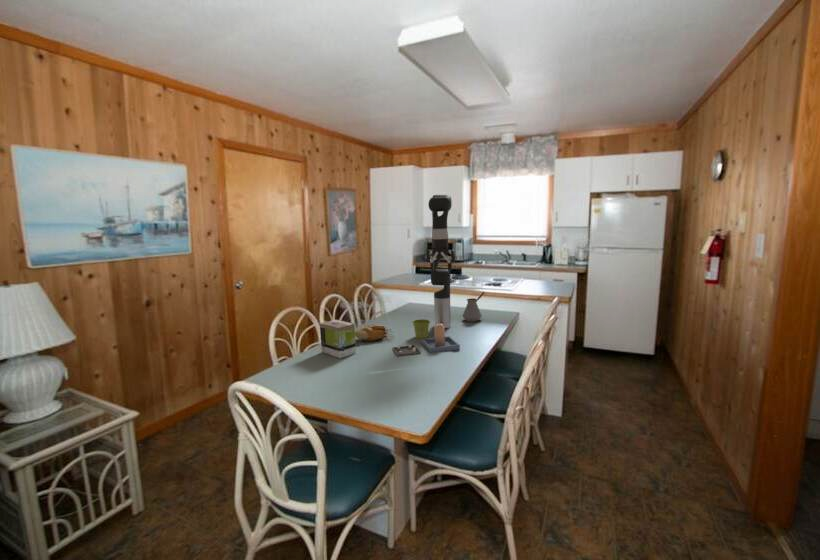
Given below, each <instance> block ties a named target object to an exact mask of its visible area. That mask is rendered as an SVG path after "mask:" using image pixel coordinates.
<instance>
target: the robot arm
mask: <svg viewBox="0 0 820 560" xmlns="http://www.w3.org/2000/svg"><path fill="white" fill-rule="evenodd" d="M452 203H453V202H452V196H451V195H450V194H433V195H432V197H430V198H429V200H428V208H429V211H431V217H432V226H431V227H432V230H431V233H432V234H431V249H427V250H426V262H427V263H430V265H429V266H430V270H431V271H430V282H431V285H432V286H443V288H442V289H440V290H437V291H434V293H433V303H434V306H433V307H434V325H436V324H439V323H440V324H443V325H444V327H445V329H448V328H451V325H452V324H451V321H452V319H451V318H452V317H451V315H452V314H451V270H452V267H453V265H452V263H454V262H455V261H456V251H455V249H449V233H448V217H449V212H450V210H451V209H452ZM439 212H442V214H441V215H439V214H438V213H439ZM448 254H450V255H451V256H449V255H448ZM450 257H451V258H450ZM441 259H444V260H445V261H446V262H447V269H445V268H444V269H443V268H442V269H440V268H439V263H440V261H441Z"/></svg>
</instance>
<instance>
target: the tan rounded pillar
mask: <svg viewBox="0 0 820 560" xmlns="http://www.w3.org/2000/svg"><path fill="white" fill-rule="evenodd" d="M433 327H434V328H433V330H434V331H433V332H434V334H433V335H434V338H435V346H436V347H440V346H445V337H446V333H445V332H446V331H445V329H446V328H445V327H444V325H443V324H440V323H439V324H436V325H435V324H434V325H433Z"/></svg>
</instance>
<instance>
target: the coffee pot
mask: <svg viewBox="0 0 820 560" xmlns="http://www.w3.org/2000/svg"><path fill="white" fill-rule="evenodd" d="M486 294H487V293H486V292H485V291H483V292H482V293H481V294H480V295H478V297H477V298H475V297H473V298H466V301H467V304H466V305H465V309H464V311H463V313H462V318H463V319H464V320H465V321H466V322H470V323H472V322H473V323H475V322H478V321H479V320H481V318H482V316H483V315H482V312H481V311H480V308H479V306H478V304H477V302H479V300H480V299H481V298H482V296H485V295H486Z"/></svg>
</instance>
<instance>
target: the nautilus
mask: <svg viewBox="0 0 820 560" xmlns="http://www.w3.org/2000/svg"><path fill="white" fill-rule="evenodd" d="M389 331H390V332H391V333H393V331H392V329H391V328H387V327H386V326H385V325H381V324H367V325H364V326H362V327H360V328H358V329H357V330H355V338H357V339H359V340H361V341H362V340H363V341H366V342H373V341H377V340H386V341H388V340H389V341H391V339H394V335H393V334H391V335H390V332H389Z"/></svg>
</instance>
